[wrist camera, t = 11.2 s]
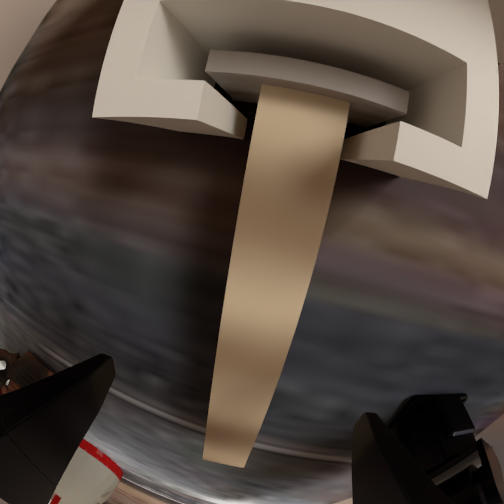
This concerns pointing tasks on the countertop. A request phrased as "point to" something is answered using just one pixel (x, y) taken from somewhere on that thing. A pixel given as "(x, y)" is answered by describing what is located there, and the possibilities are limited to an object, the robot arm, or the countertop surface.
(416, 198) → the countertop surface
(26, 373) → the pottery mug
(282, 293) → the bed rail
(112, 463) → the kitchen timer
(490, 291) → the countertop surface
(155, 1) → the white angular piece
